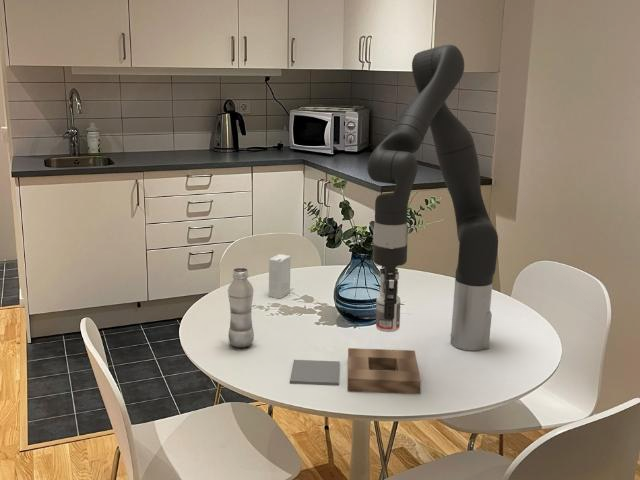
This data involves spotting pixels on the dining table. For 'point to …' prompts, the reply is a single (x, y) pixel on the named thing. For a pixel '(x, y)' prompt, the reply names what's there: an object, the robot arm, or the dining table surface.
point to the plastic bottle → (240, 309)
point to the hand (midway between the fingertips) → (388, 313)
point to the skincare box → (279, 276)
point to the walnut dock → (383, 371)
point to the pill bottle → (380, 320)
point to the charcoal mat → (315, 372)
